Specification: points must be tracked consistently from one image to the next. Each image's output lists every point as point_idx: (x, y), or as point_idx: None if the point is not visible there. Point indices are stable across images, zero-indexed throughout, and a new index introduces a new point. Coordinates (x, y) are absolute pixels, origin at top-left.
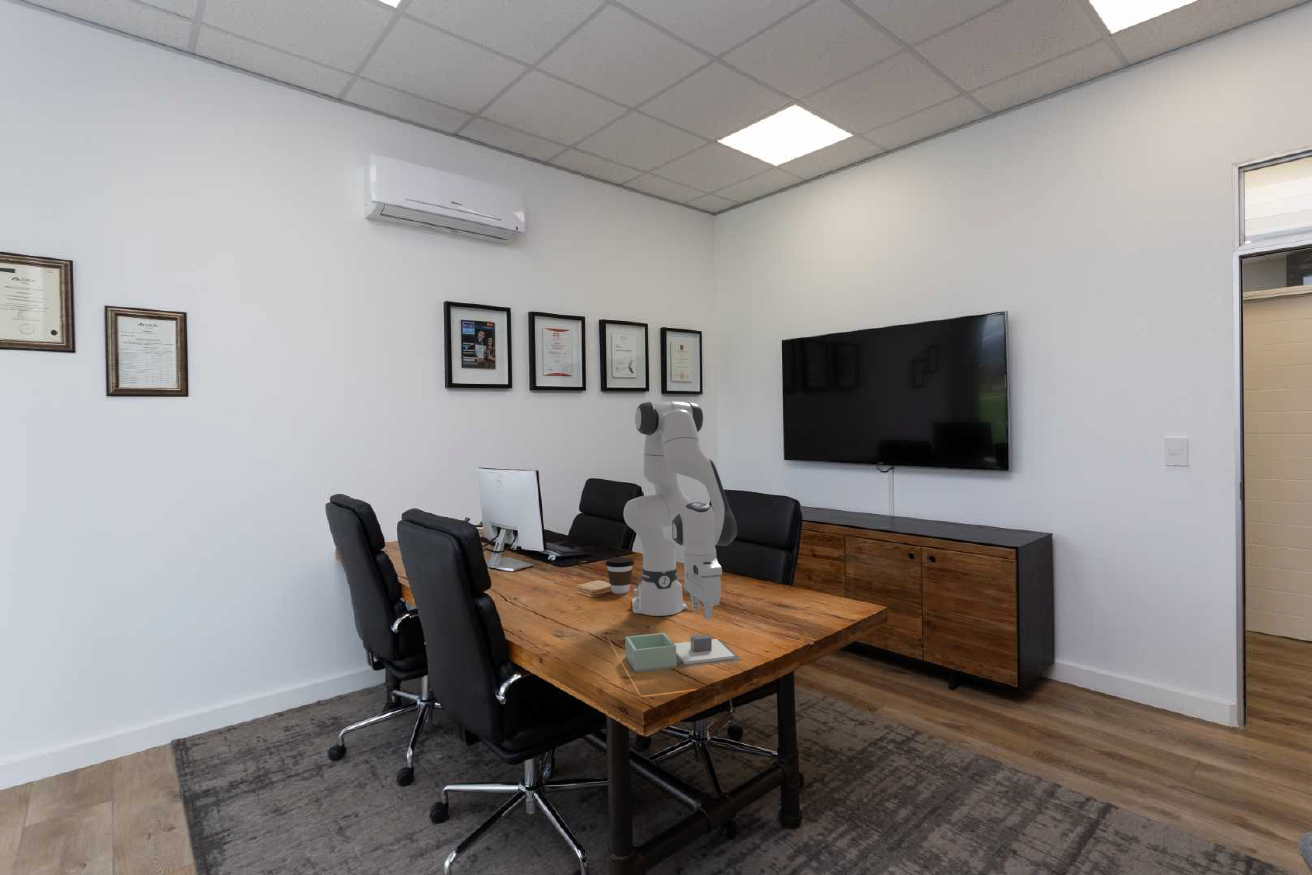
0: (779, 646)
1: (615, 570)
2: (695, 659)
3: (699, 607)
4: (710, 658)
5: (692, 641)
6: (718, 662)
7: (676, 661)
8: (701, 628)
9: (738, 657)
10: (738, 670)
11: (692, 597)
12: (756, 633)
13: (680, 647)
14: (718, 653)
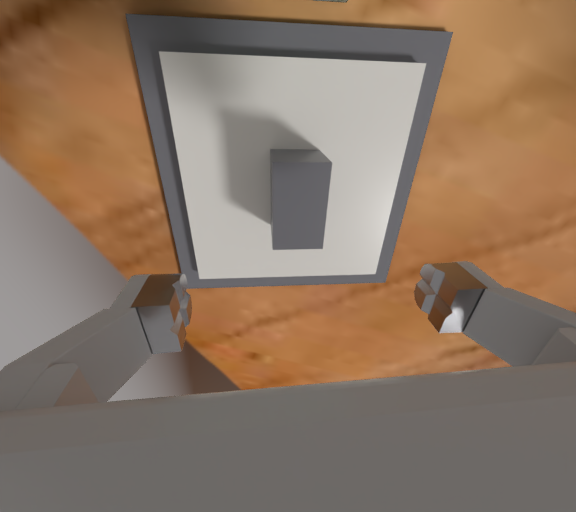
0: (276, 383)
1: None
2: (180, 124)
3: (424, 307)
4: (185, 193)
5: (295, 157)
6: (173, 214)
7: (213, 24)
8: (517, 262)
9: (210, 285)
10: (106, 253)
11: (554, 328)
12: (383, 368)
13: (353, 105)
14: (233, 237)
